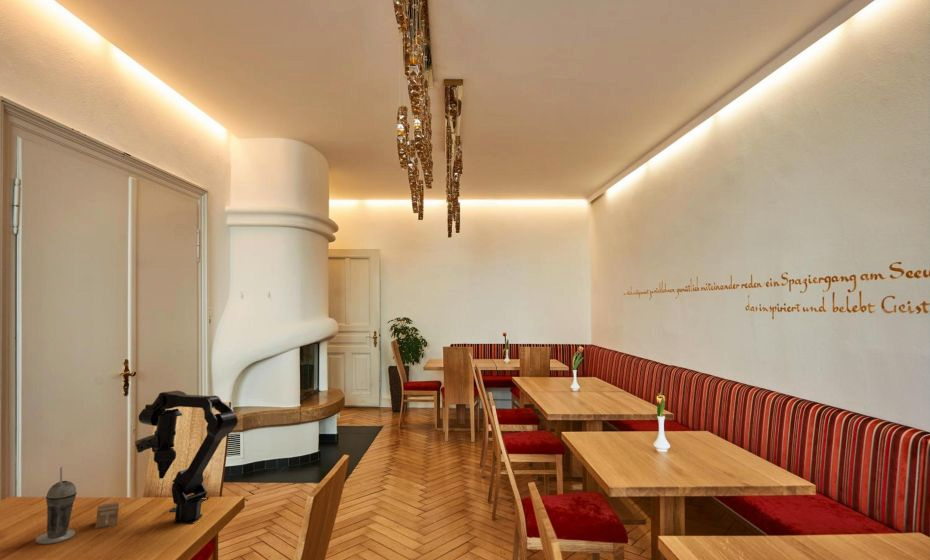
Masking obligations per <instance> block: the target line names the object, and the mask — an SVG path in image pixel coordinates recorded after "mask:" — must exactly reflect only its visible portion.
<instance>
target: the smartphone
mask: <svg viewBox="0 0 930 560" xmlns="http://www.w3.org/2000/svg"><path fill="white" fill-rule="evenodd" d="M205 498H209V499H210V496H206V497H205ZM205 500H206V499H202V501H201V503H202V502H203V501H205ZM206 501H207V500H206ZM206 501H205V502H206ZM203 503H204V502H203ZM203 503H202V504H203ZM176 506H178V505H176ZM176 506H174V507H173V508H171V509H169V511H168V512H169V513H176Z"/></svg>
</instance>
